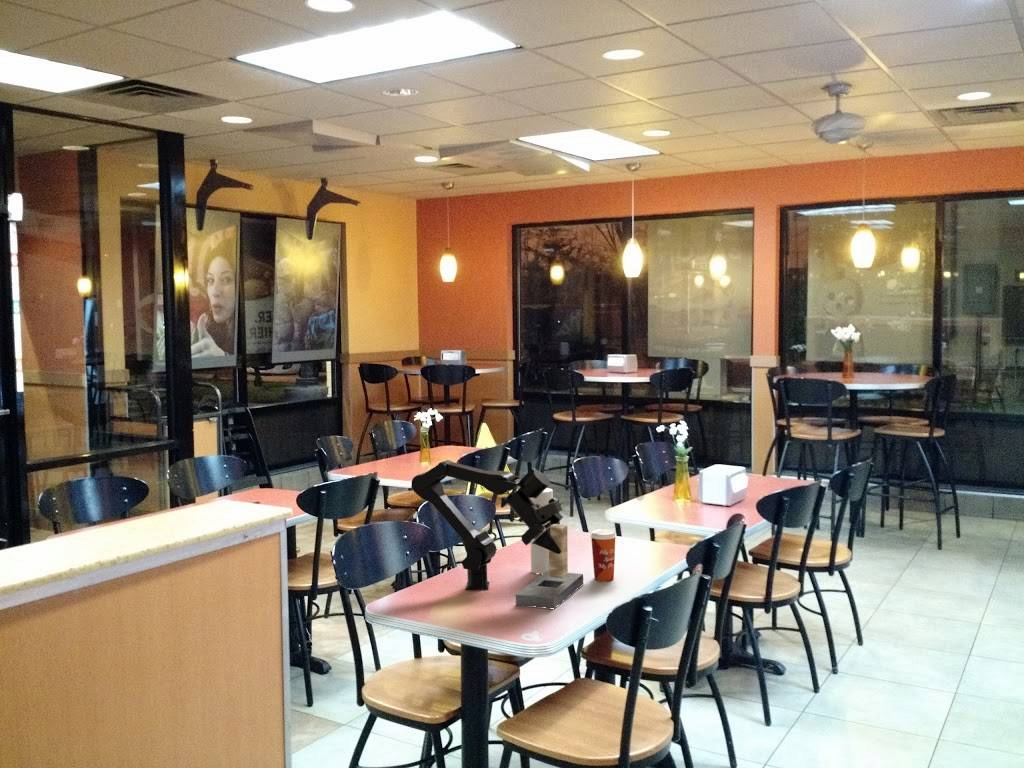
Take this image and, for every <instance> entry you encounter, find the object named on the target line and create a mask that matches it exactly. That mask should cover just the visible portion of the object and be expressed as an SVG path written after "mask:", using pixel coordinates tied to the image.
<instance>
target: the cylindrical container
mask: <svg viewBox="0 0 1024 768" xmlns="http://www.w3.org/2000/svg"><path fill="white" fill-rule="evenodd" d="M553 493H554V491H553V489H552V488H548V487H547V488H546V489H545V490H544V491H543V492H542V493H541V494H540V495H539V496H538V497H537V498H530V499H531V500H532V501H533V502H534V503H535V505H536V504H537V503H538V504H540V505H541V506H544V505H547V504H549V500H550V499H552V498H554V496H553V495H554V494H553ZM534 541H535V539H533V540H531V543H530V572H531V571H532V572H533V573H532V572H531V573H532V574H534V573H539V574H538V575H540V574H544V573H545V572H547V571H549V550H548V549H546V548H543V547H541V546H538V545H536V544H533V542H534Z"/></svg>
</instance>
